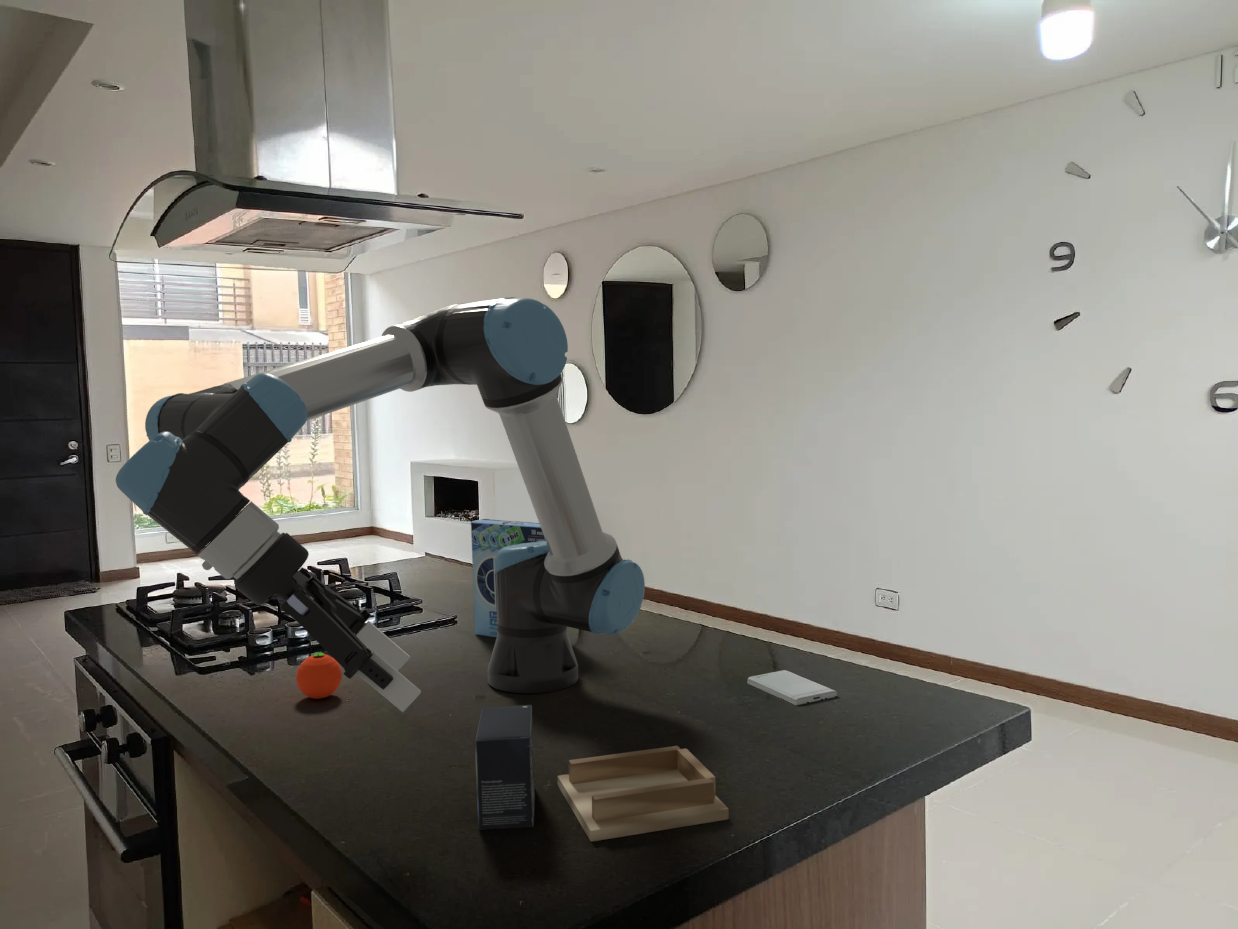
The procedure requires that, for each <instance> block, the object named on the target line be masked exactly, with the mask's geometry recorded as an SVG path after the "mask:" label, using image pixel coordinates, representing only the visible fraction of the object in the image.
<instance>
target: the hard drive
mask: <svg viewBox="0 0 1238 929" xmlns="http://www.w3.org/2000/svg"><path fill="white" fill-rule="evenodd" d="M746 681H747V682H746V683H747V685H750V686H751V687H755V688H757V689H759V690H761V691H763V692H766V693H767V694H770V695H772V696H775V697H777V698H778V699H781V698H782V699H781V700H783V699H784V700H783V701H786V702H789V703H790V704H793V705H794V706H799V705H804V704H808V703H807V702H809V703H812V702H813V703H814V702H818V701H821V699H823V700H826V699H825V698H827V699H832V698H835V696H837V697H838V692H837V691H836V690H834V689H833V688H832V689H831V688H830V687H828V686H825V685H823V684H821V683H820V684H819V683H818V682H815V681H812V680H811V679H808V678H805V677H802V676H800V675H798V674H796V673H794V672H791V671H788V670H786V669H783V670H777V671H773V672H768V673H763V674H759V675H751V676H749V677H748V678H747V680H746Z"/></svg>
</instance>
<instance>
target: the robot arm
mask: <svg viewBox="0 0 1238 929" xmlns="http://www.w3.org/2000/svg"><path fill="white" fill-rule="evenodd" d="M567 338H568V337H567V334H566V331H565V328H564V326H563V324H562V322H561V320H560V319H559V317H558V315H557V314H556V313H555V312H554V311H553V310H552V309H551V308H550V307H549V306H548V305H547V304H545V303H542V302H541V301H539V300H537V299H534V298H528V297H526V298H525V297H522V298H520V297H514V296H513V297H512V296H511V297H502V298H497V299H489V300H481V301H475V302H467V303H466V302H465V303H463V302H462V303H457V304H456V303H455V304H451V305H447V306H445V307H444V306H443V307H442V308H439V309H436V310H434V311H431V312H428V313H425V314H423V315H420V316H417V317H415V318H411V319H409V320H407V321H404V322H401V323H397V324H395V325H391V326H388V327H387V328H386V329H384V331H383V332H382V334H381V336H379V337H377V338H373V339H370V340H367V341H364V342H359V343H356V344H353V345H350V346H345V347H342V348H339V349H335V350H332V351H329V352H326V353H322V354H320V355H315V356H312V357H310V358H306V359H302V360H299V361H296V362H292V363H289V364H286V365H282V366H279V367H275V368H272V369H269V370H264V371H262V372H258V373H255V374H252V375H248V376H244V377H242V378H239V379H235V380H232V381H231V380H230V381H228V382H225V383H223V384H220V385H216V386H212V387H209V388H208V387H207V388H205V389H202V390H198V391H195V392H191V393H183V392H181V393H180V392H179V393H175V394H172V395H168V396H164V397H162V398H160V399H158V400H157V401H156V402H154V403H153V404H152V406H150V408H149V410H148V412H147V414H146V417H145V420H144V421H145V423H144V424H145V426H144V428H145V429H144V430H145V432H146V437H147V439H148V442H146V443H145V444H144V445H143V446H141V447H140V448H139V449H138V450H137V451H136V452H135V453H134V454H133V455H132V456H130V458H129V459H128V460H127V461H126V462H125V463H124V464H123V465H122V467H121V468H120V469H119V470H118V472H117V474H116V476H115V484H116V487H117V488H118V489H119V491H121V492H122V493H123V494H124V495H125V496H126V497H127V498H128V499H129V500H130V501H131V502H132V503H133V504H134V506H136V507H137V508H138V509H140V510H141V512H142V513H143V514H144V516H148V517H149V518H150V519H152V520H153V521H154V522H155V523H157V524H158V525H159V526H161V527H162V528H163V529H164V530H166V531H167V532H168V533H170V534H171V536H173V537H174V538H176V539H177V540H178V541H180V542H181V544H183V545H184V546H185V547H187V548H188V549H189V550H190V551H191V552H192V553H194V554H195V555H197V557H199V558H200V559H201V560H203V562H202V564H201V567H202V568H203V569H204V570H205V571H210V570H211V569H214V571H216V572H217V573H218V574H219V575H220V576H222V577H223V578H224V579H225V580H229V579H230V580H231V579H232V578H234V579H235V580H234V582H233V584H234V588H235V589H236V590H238V591H239V592H240V593H241V594H243V595H244V596H245V597H246V598H248V599H249V601H251V602H252V603H253V604H255V605H256V606H263V605H264V604H266V603H268V602H269V601H270V600H271V599H272V598H273V597H274V596H275V595H278V596H279V597H280V598H281V599H282V600H283V601H284V603H283V604H282V605H281V606H280V607H281V609H282V611H283V612H284V613H286V614H288V616H290V617H291V618H292V619H293V620H294V621H296V623H298V625H300V626H301V627H302V628H303V629H304V630H305V631H306V632H307V633H308V634H309V635H310V636H311V637H312V639H314V640H315V641H316V642H317V644H319V645H320V646H321V647H322V648H323V649H324V650H325V651H326V652H327V653H328V655H329V656H330V657H332V658H334V659H335V660H336V661H337V662H338V664H339V666H340V667H341V668H343V670H344V672H343V673H342V675H343V676H345V677H347V678H348V679H350V680H351V679H352V678H353V677H354V675H357V676H358V677H360V679H362V680H363V681H364V682H365V683H367V684H368V685H370V687H372V688H373V689H374V690H375V691H376V692H377V693H379V694H380V695H381V696H383V697H384V698H385V699H386V700H387V701H388V702H390V703H391V704H392V705H393V706H395V708H396V709H398V711H400V712H401V713H404V712H405V711H406V710H407V709H408V708H409V707H410V705H411V704H412V703H413V702H414V701H415V700H416V699H417V698H418V697H419V695H421V693H422V691H421V689H420V688H418V686H416V685H415V684H414V683H412V681H410V680H409V679H408V678H407V677H406V676H404V675H403V673H401V672H400V671H399V670H400V669H402V667H403V666H404V665H405V664H406V663H407V662H408V661H409V660H410V659H411V656H410V655H409V654H408V653H407V652H406V651H404V650H403V648H401V647H400V646H399V645H398V644H396V643H395V642H394V641H393V640H391V638H389V637H388V636H387V635H386V634H385V633H384V632H383V631H381V630H380V629H379V628H378V627H377V626H376V625H374V624H373V623H372V622H371V621H370V620H369V619H370V618H371V617H372V614H371V613H370V612H369V611H368V610H367V609H364V610H363V611H362V610H361V609H360V608H359V607H357V606H355V605H354V604H352V603H351V602H349V601H348V600H346V599H345V598H344V597H342V596H341V595H340V594H338V593H337V592H336V591H334V590H333V589H331V587H329V586H327V585H326V584H324V583H323V582H322V581H320V579H318V578H317V577H316V576H314V575H313V574H311V572H309V570H308V569H307V568H304V567H303V565H304V564H305V563H306V561H307V560H308V558H309V555H310V554H309V550H308V549H307V548H306V547H304V546H303V545H302V544H301V543H300V542H298V541H297V540H296V538H294V537H293V536H292V535H291V534H289V533H288V532H286V533H285V532H281V533H280V532H279V531H278V530H279V528H280V526H279V523H277V521H275V520H274V519H273V518H272V517H271V516H269V515H268V514H267V513H265V512H264V511H263V509H261V508H260V507H259V506H258V505H256V504H255V503H254V502H253V501H251V500H250V499H249V498H248V497H246V496H245V495H244V494H243V493H241V491H240V489H241V488H242V487H244V486H245V485H246V484H247V483H248V482H249V481H250V480H251V479H252V478H253V477H254V476H255V475H256V474H257V473H258V472H259V471H260V470H261V469H262V468H263V467H264V466H265V465H266V464H267V463H269V461H271V459H273V457H275V456H276V455H277V454H278V453H279V452H280V451H281V450H282V449H283V448H284V447H285V446H286V445H287V444H288V443H291V442H292V440H293V438H294V437H295V436H296V435H297V433H298V432H299V431H300V430H301V429H302V427H304V425H305V424H306V423H307V422H309V421H311V420H314V419H316V418H319V417H322V416H325V415H328V414H330V413H334V412H336V411H340V410H342V409H345V408H348V407H351V406H354V405H356V404H359V403H362V402H365V401H368V400H371V399H374V398H377V397H380V396H383V395H386V394H388V393H391V392H393V391H397V390H401V391H405V392H408V393H410V392H412V393H413V392H415V391H419V390H422V389H424V388H427V387H435V386H449V385H451V386H452V385H473V386H475V385H476V386H477V389H478V391H479V394H480V396H481V399H482V401H483V405H484V407H485V408H486V409H488V410H490V411H492V412H495V413H497V414H499V416H500V420H501V422H502V425H503V427H504V431H505V434H506V435H507V436H506V437H507V439H508V442H509V444H510V447H511V451H512V452H513V455H514V458H515V461H516V463H517V465H518V466H517V467H518V469H519V471H520V475H521V477H522V480H523V483H524V486H525V488H526V491H527V493H528V496H529V498H530V501H531V504H532V507H533V509H534V512H535V515H536V518H537V521H538V523H540V526H541V529H542V532H543V534H544V537H545V540H546V541H540V542H531V543H523V544H517V545H512V546H507V547H504V548H502V549H501V550H499V552H498V553H497V556H496V570H495V583H496V608H497V638H496V639H495V643H494V645H493V650H492V653H491V656H490V660H489V663H488V666H487V683H488V685H489V686H491V688H494V689H495V690H499V691H503V692H508V693H516V694H538V693H539V694H540V693H548V692H553V691H554V692H555V691H558V690H563V689H565V688H568V687H570V686H572V685H573V684H576V682H578V681H579V664H578V660H577V658H576V655H575V652H574V649H573V646H572V643H571V640H570V637H569V635H568V628H572V629H576V630H580V631H585V632H589V633H592V634H595V635H598V634H599V635H601V634H605V635H617V634H619V633H620V634H621V633H622V632H624V631H626V630H627V629H628V628H629V627H630V626H631V625H632V624H633V622H634V621H635V620H636V619H637V616H638V615H639V612H640V610H641V608H642V603H643V601H644V598H645V591H646V590H645V589H646V583H645V576H644V573H643V569H642V568H641V566H640V565H639V564H638V563H637V562H634V561H633V560H631V559H623V558H622V555H621V552H620V550H619V547H618V544H617V541H616V539H615V538H614V536H613V535H611V534H609V533H606V532H603V530H602V526H601V524H600V521H599V518H598V515H597V512H596V508H595V506H594V503H593V500H592V497H591V493H590V490H589V488H588V484H587V482H586V479H585V476H584V473H583V470H582V467H581V464H580V461H579V459H578V455H577V452H576V449H575V446H574V444H573V443H574V442H573V441H572V437H571V435H570V431H569V428H568V425H567V423H566V420H565V417H564V413H563V411H562V408H561V404H560V401H559V399H558V396H557V393H558V391H559V389H560V388H561V385H562V383H563V376H562V375H561V374H562V373H563V371H564V369H565V366H566V363H567V360H568V357H567V356H566V353H568V351H569V350H568V349H569V346H568V344H569V343H568V339H567Z"/></svg>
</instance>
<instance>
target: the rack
mask: <svg viewBox="0 0 1238 929" xmlns="http://www.w3.org/2000/svg"><path fill="white" fill-rule="evenodd" d="M557 786H558V789H559V790H560V792H561V794H562V795H563V797H564V799H565V800H566V803H567V804H568V805H569V807H570V809H571V810H572V812H573V814H574V815H575V818H577V820H578V823H579V824H580V826H581V828H582V829H583V831H584V832H585V834H586V835H587V837H588V839H589V841H590V842H599V841H602V840H603V841H604V840H608V839H609V840H610V839H615V838H622V837H628V836H634V835H641V834H646V833H647V834H648V833H652V832H658V831H665V830H672V829H677V828H683V827H689V826H690V827H691V826H695V825H701V824H707V823H715V822H720V821H721V822H722V821H727V820H729V819H730V818H729V816H730V814H729V812H730V810H729V807H727V806H726V804H725V803H723V801H721V799H720V798H719V797H718V796H717V795H716V776H715V775H714V774H713V773H712V772H711V771H710V770H709V769H708V768H706V766H705V765H703V763H702V762H701V761H699V759H698V758H697V757H696V756H694V754H692V752H690V750H689V749H688V748H680V746H678V745H673V746H667V747H665V746H664V747H659V748H650V749H644V750H635V751H628V752H627V751H626V752H621V753H613V754H606V755H599V756H590V757H584V758H583V757H582V758H576V759H569V760H568V774H560V775H557Z"/></svg>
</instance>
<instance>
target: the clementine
mask: <svg viewBox="0 0 1238 929" xmlns="http://www.w3.org/2000/svg"><path fill="white" fill-rule="evenodd" d="M342 676H343V673H342V667H341V665H340V664H339V663H338V662H337V661H336V660H335V659H334V658H333V657H332V656H331V655H330V654H326V653H324V652H318V653H314V654H313V655H310V656H308V657H307V658H305V659H304V660H303V661H302V662H301V663H300V664H299V666H298V668H297V671H296V676H295V679H296V686H297V687H298V689H299V691H300V692H301V693H302V694H303V695H304V696H306V697H307V698H310V699H318V700H319V699H320V700H321V699H323V698H324V699H325V698H327V697H330V696H331V695H333V693H335V692H336V691H337V689H338V688H339V687H340V684H341V681H342Z"/></svg>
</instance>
